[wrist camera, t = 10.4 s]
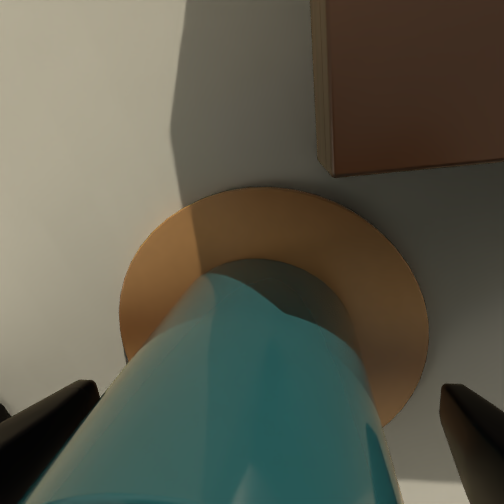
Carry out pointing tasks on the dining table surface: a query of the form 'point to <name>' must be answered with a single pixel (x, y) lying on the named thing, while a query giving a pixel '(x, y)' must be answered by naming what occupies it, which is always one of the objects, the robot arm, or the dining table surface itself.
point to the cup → (234, 405)
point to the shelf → (407, 84)
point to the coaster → (300, 255)
